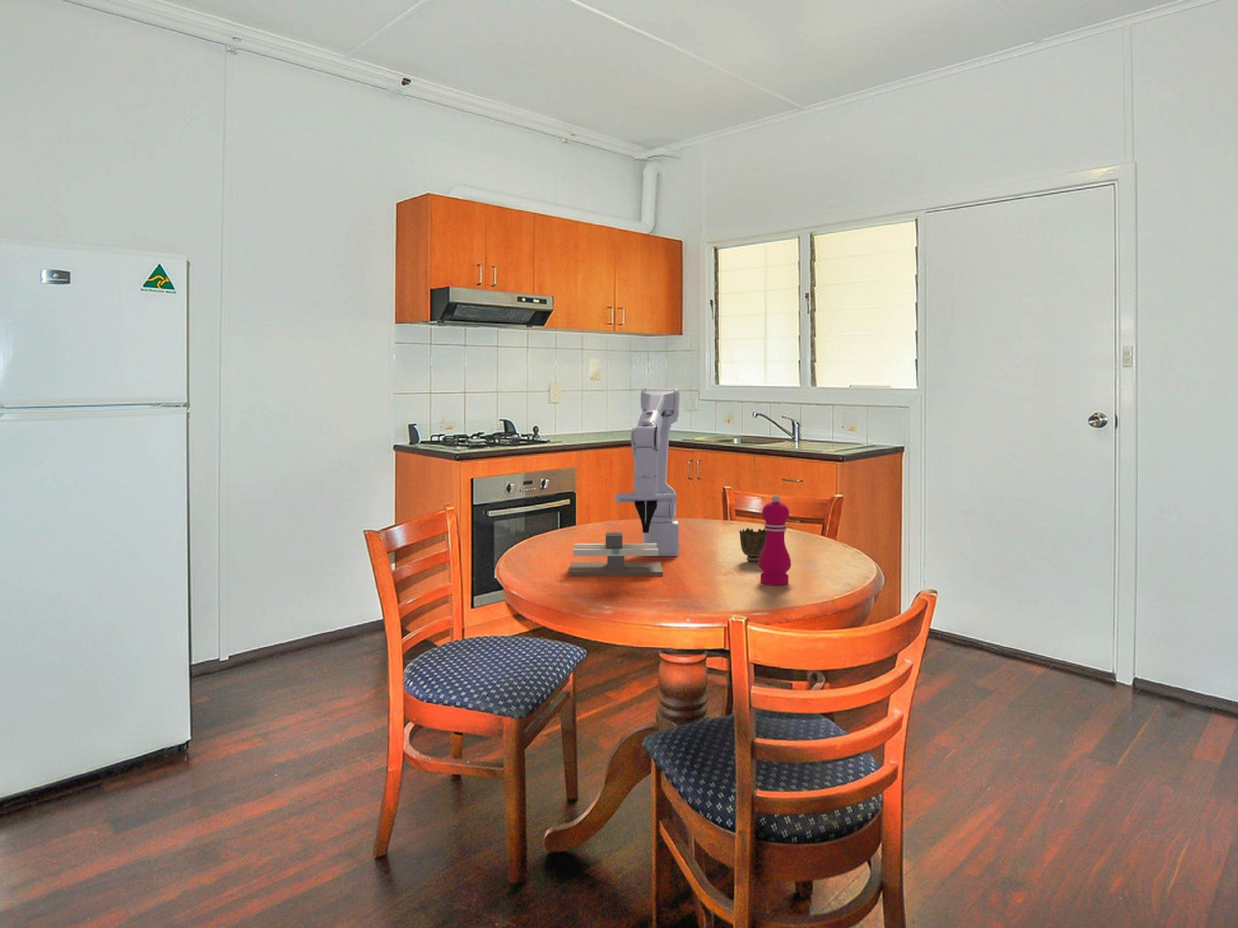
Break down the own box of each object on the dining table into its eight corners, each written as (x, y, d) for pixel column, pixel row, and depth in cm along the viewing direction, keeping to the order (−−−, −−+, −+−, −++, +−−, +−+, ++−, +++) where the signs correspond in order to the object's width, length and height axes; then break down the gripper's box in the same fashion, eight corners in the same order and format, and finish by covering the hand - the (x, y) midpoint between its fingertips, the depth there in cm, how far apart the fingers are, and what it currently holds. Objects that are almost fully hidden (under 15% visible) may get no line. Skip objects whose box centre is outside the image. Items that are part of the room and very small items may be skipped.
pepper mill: (754, 578, 181) (756, 493, 179) (785, 577, 182) (787, 492, 180) (763, 586, 174) (764, 497, 172) (794, 585, 175) (796, 497, 173)
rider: (622, 548, 190) (622, 532, 190) (622, 552, 186) (622, 535, 186) (605, 548, 190) (605, 532, 190) (605, 552, 186) (605, 535, 186)
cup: (770, 559, 200) (771, 528, 199) (766, 566, 193) (767, 534, 192) (741, 557, 203) (742, 527, 202) (736, 563, 196) (737, 532, 195)
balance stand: (660, 565, 194) (660, 541, 193) (662, 575, 184) (662, 550, 183) (571, 566, 193) (570, 542, 193) (569, 576, 184) (568, 550, 183)
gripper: (615, 478, 183) (615, 535, 185) (677, 478, 183) (677, 535, 185) (615, 474, 190) (615, 529, 192) (675, 474, 190) (674, 529, 192)
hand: (645, 531), depth 189 cm, fingers closed
